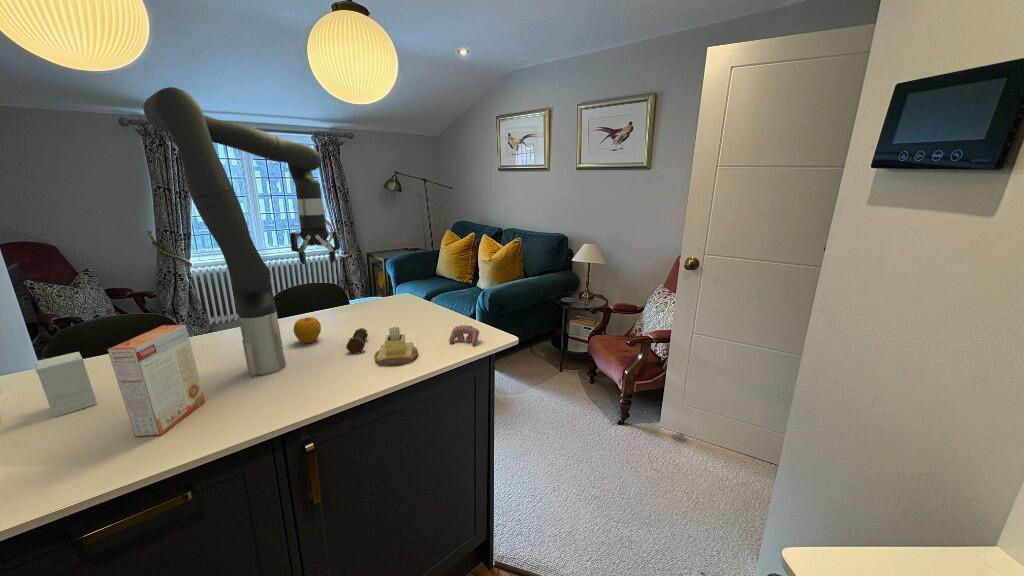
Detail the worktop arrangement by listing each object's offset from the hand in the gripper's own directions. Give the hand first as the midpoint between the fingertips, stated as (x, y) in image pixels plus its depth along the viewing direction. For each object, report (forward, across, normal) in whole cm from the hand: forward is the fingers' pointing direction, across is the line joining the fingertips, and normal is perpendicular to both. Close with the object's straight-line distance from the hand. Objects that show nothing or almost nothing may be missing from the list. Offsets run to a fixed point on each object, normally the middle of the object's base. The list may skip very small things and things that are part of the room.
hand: (318, 263), depth 126 cm
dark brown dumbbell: (+28, +11, -4) cm, 31 cm away
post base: (+28, +24, -17) cm, 41 cm away
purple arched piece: (+28, +46, -10) cm, 55 cm away
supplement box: (+28, -52, -29) cm, 66 cm away
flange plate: (+27, +24, -17) cm, 40 cm away
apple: (+28, -7, +3) cm, 29 cm away
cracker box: (+28, -25, -41) cm, 56 cm away
